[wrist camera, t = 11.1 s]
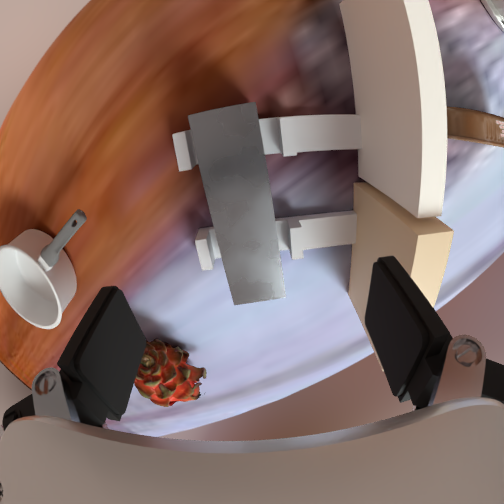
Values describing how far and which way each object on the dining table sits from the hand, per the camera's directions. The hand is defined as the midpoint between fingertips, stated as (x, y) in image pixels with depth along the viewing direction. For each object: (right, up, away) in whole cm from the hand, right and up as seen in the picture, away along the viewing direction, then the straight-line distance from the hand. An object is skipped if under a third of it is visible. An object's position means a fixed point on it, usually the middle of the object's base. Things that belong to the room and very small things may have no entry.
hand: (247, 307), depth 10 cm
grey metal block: (-1, +7, +13) cm, 15 cm away
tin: (+21, +15, +10) cm, 28 cm away
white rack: (+3, +9, +13) cm, 16 cm away
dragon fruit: (-10, -11, +24) cm, 29 cm away
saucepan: (-22, +3, +16) cm, 27 cm away
